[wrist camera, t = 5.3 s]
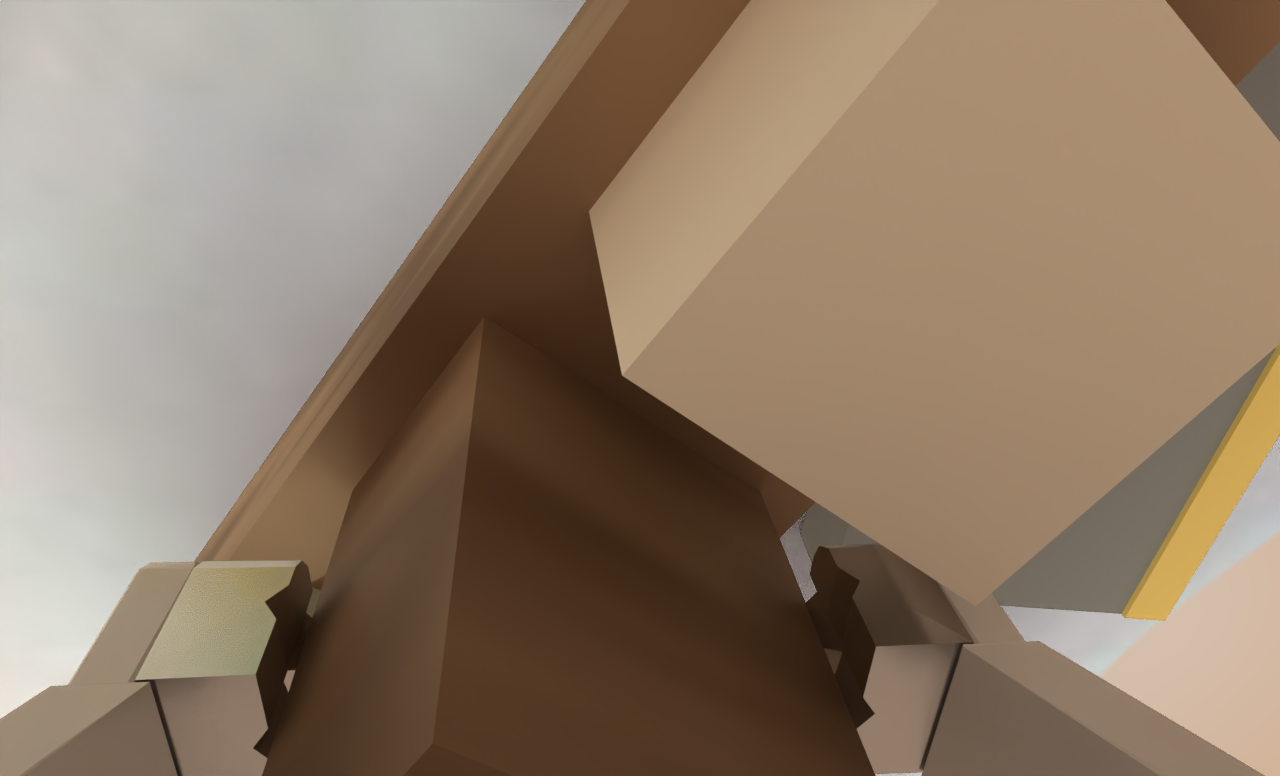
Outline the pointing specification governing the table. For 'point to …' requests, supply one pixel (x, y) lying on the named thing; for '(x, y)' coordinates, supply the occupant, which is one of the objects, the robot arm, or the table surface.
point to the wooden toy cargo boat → (552, 481)
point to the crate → (948, 259)
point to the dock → (1147, 486)
